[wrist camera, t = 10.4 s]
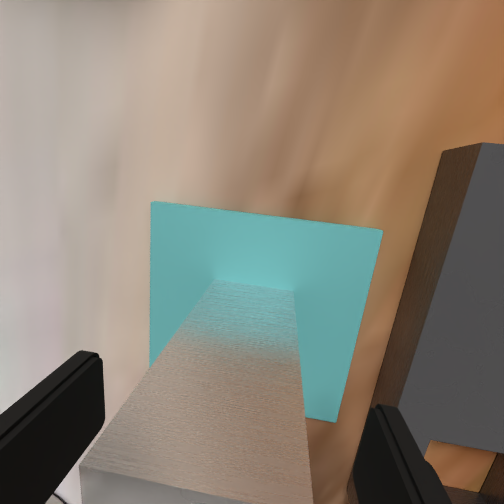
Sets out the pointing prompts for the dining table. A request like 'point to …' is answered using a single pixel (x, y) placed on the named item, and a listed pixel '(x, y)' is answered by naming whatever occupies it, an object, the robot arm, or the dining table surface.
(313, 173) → the dining table surface
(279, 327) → the steel block
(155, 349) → the mat
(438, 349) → the slotted plate
